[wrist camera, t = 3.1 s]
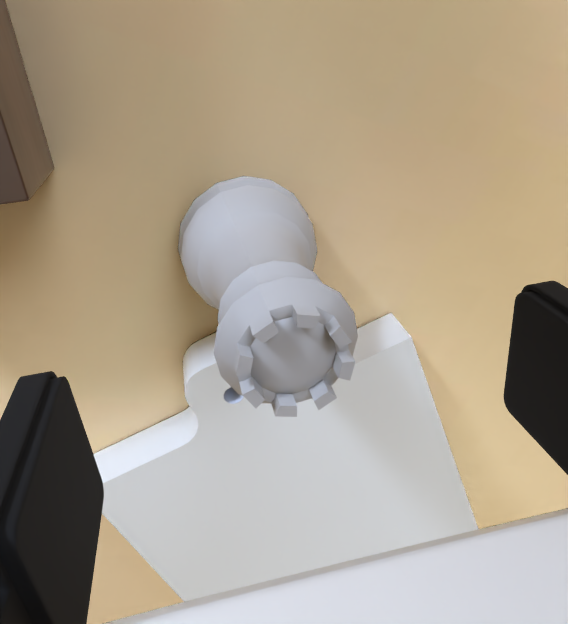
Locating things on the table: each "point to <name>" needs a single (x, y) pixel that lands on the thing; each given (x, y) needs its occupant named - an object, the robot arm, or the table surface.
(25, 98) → the piece stand
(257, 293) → the rook chess piece
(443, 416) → the table surface
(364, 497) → the mounting plate
